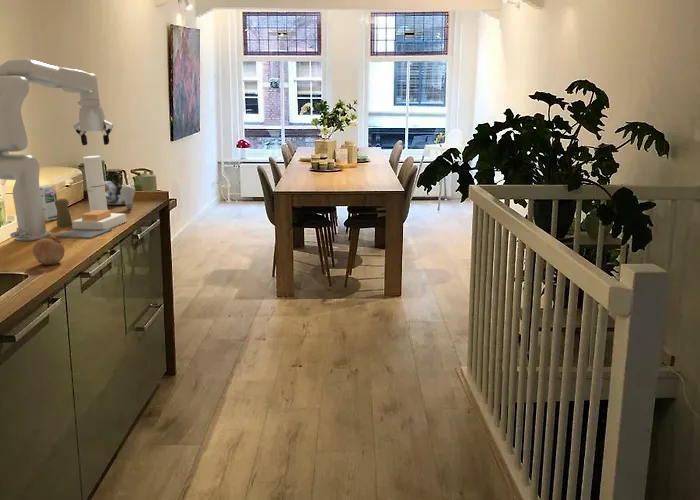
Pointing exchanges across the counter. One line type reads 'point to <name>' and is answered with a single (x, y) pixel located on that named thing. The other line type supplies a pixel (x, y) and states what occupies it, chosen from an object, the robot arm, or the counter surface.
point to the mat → (83, 233)
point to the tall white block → (95, 183)
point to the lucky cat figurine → (113, 194)
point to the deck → (100, 222)
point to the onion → (48, 250)
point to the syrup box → (48, 202)
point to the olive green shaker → (63, 213)
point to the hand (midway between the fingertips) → (95, 144)
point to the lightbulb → (128, 195)
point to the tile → (96, 215)
